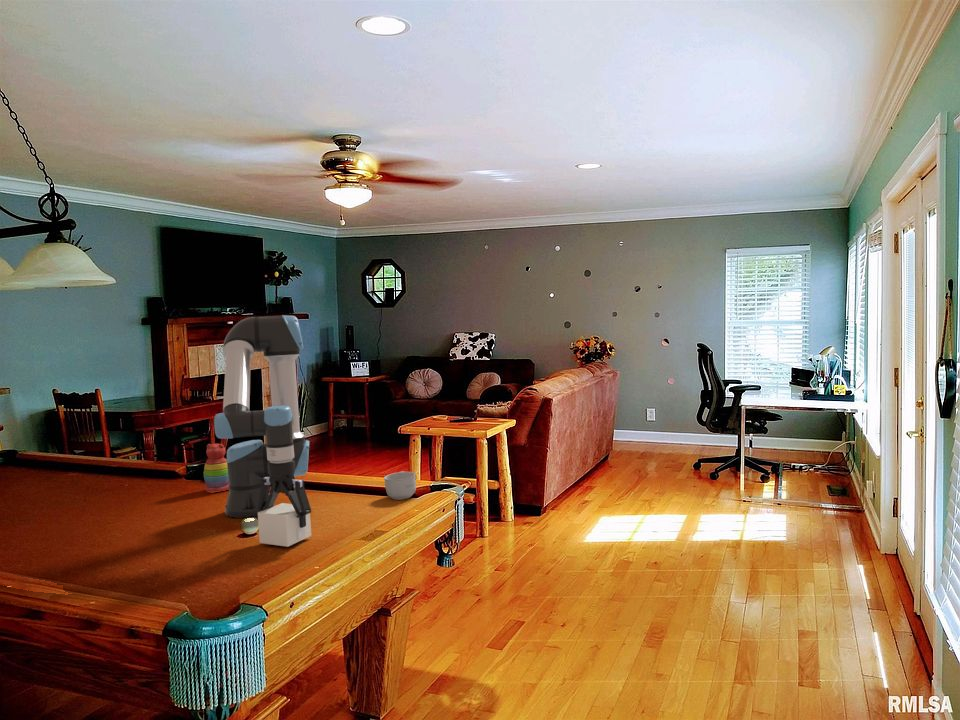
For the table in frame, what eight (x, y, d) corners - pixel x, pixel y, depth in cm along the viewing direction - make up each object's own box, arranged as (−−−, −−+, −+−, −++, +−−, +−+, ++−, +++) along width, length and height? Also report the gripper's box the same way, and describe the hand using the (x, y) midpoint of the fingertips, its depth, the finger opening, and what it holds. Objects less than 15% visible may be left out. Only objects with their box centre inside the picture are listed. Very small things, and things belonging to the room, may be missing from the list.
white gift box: (259, 542, 210) (257, 512, 209) (284, 532, 219) (282, 503, 218) (287, 546, 205) (285, 515, 204) (311, 535, 214) (309, 505, 213)
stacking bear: (239, 486, 281) (235, 440, 280) (224, 493, 271) (220, 446, 270) (213, 486, 284) (210, 440, 282) (198, 493, 274) (194, 446, 272)
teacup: (411, 502, 249) (410, 478, 248) (380, 501, 251) (379, 478, 251) (422, 491, 263) (421, 469, 262) (393, 490, 265) (392, 469, 264)
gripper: (241, 461, 212) (246, 536, 214) (304, 465, 202) (309, 544, 204) (259, 455, 219) (264, 528, 220) (321, 459, 209) (326, 536, 210)
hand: (286, 536), depth 212 cm, fingers closed on white gift box, 10 cm apart
